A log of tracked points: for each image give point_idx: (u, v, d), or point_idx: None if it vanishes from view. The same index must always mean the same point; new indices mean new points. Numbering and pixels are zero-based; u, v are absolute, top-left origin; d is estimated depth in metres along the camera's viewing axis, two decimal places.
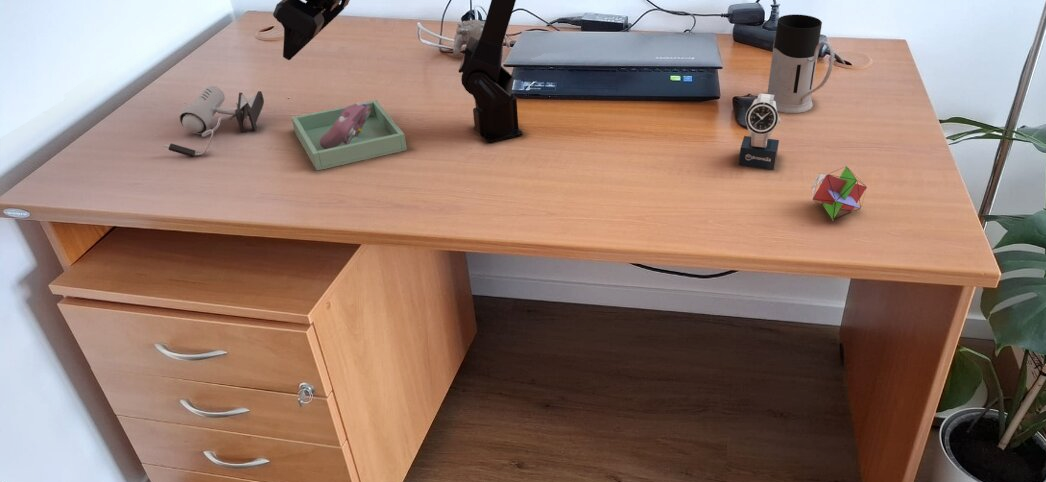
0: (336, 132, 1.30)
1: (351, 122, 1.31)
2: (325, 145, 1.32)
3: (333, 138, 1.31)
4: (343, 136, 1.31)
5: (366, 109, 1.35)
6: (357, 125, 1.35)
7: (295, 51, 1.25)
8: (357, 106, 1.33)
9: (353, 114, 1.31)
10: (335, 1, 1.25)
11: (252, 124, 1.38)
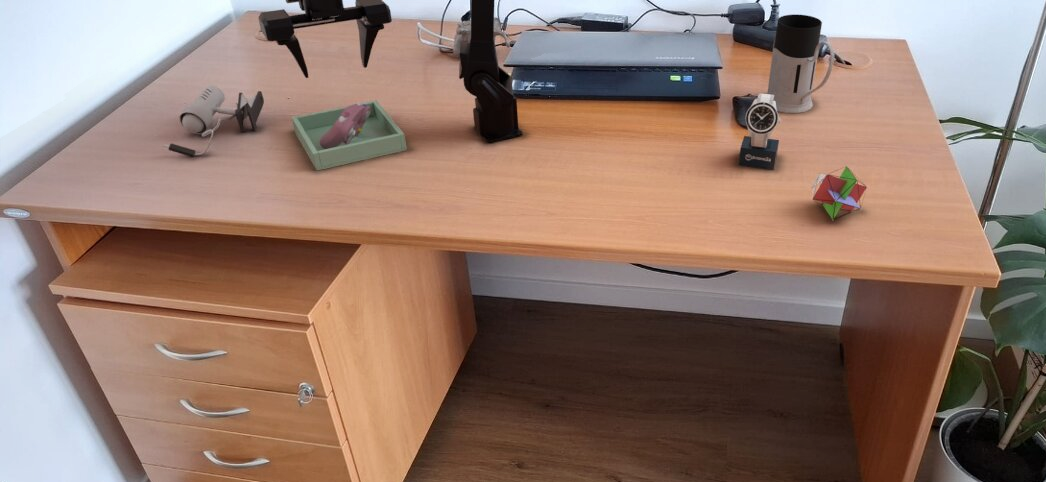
0: (336, 132, 1.30)
1: (351, 122, 1.31)
2: (325, 145, 1.32)
3: (333, 138, 1.31)
4: (343, 136, 1.31)
5: (366, 109, 1.35)
6: (357, 125, 1.35)
7: (299, 66, 1.25)
8: (357, 106, 1.33)
9: (353, 114, 1.31)
10: (322, 9, 1.21)
11: (252, 124, 1.38)
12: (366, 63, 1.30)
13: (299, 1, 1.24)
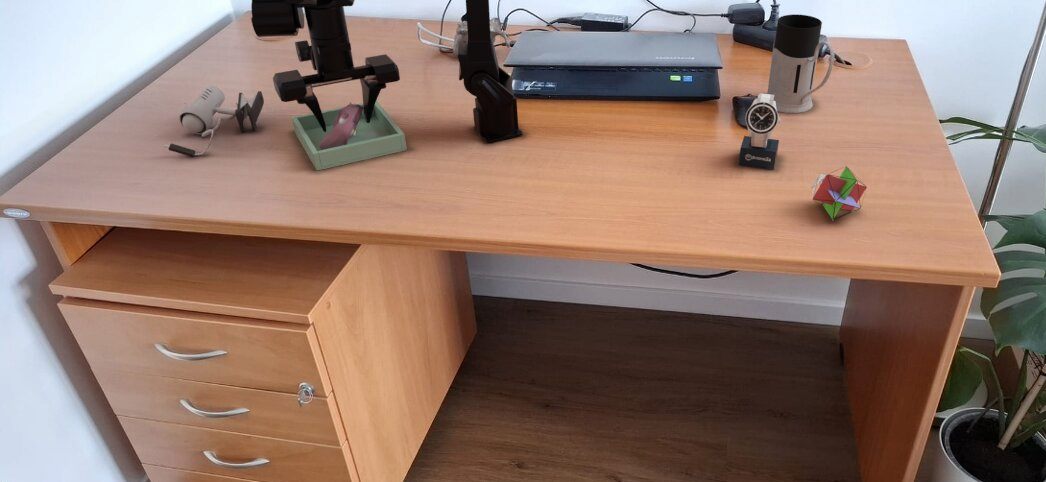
0: (338, 134, 1.30)
1: (352, 123, 1.30)
2: (326, 148, 1.31)
3: (334, 141, 1.30)
4: (345, 137, 1.30)
5: (360, 109, 1.35)
6: (353, 126, 1.35)
7: (318, 121, 1.31)
8: (353, 106, 1.33)
9: (352, 115, 1.31)
10: (333, 70, 1.27)
11: (252, 124, 1.38)
12: (369, 119, 1.36)
13: (311, 61, 1.30)
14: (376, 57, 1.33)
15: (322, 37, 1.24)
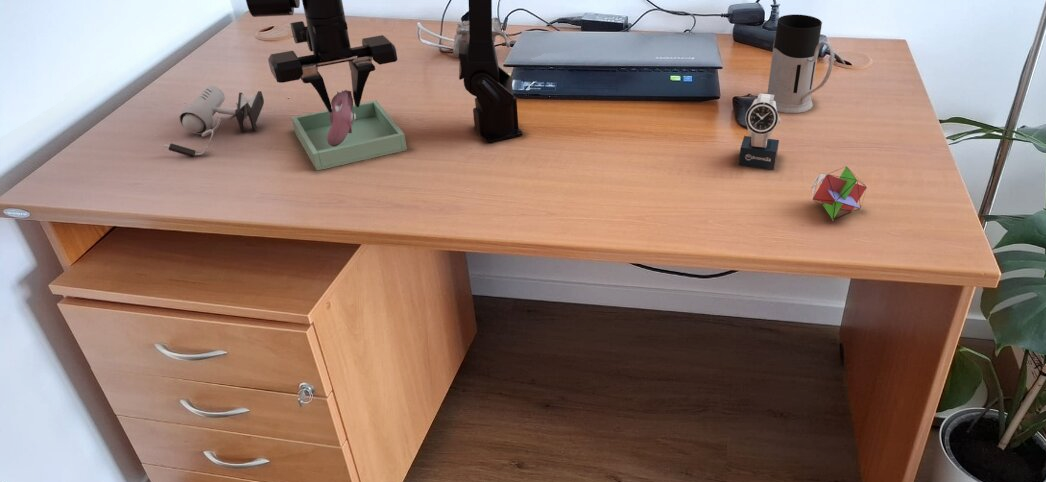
0: (340, 122, 1.28)
1: (348, 106, 1.28)
2: (335, 141, 1.29)
3: (339, 130, 1.28)
4: (348, 122, 1.28)
5: (349, 93, 1.33)
6: None
7: (323, 102, 1.30)
8: (341, 93, 1.31)
9: (345, 99, 1.29)
10: (330, 51, 1.25)
11: (252, 124, 1.38)
12: (358, 103, 1.33)
13: (307, 42, 1.28)
14: (373, 38, 1.31)
15: (318, 16, 1.22)
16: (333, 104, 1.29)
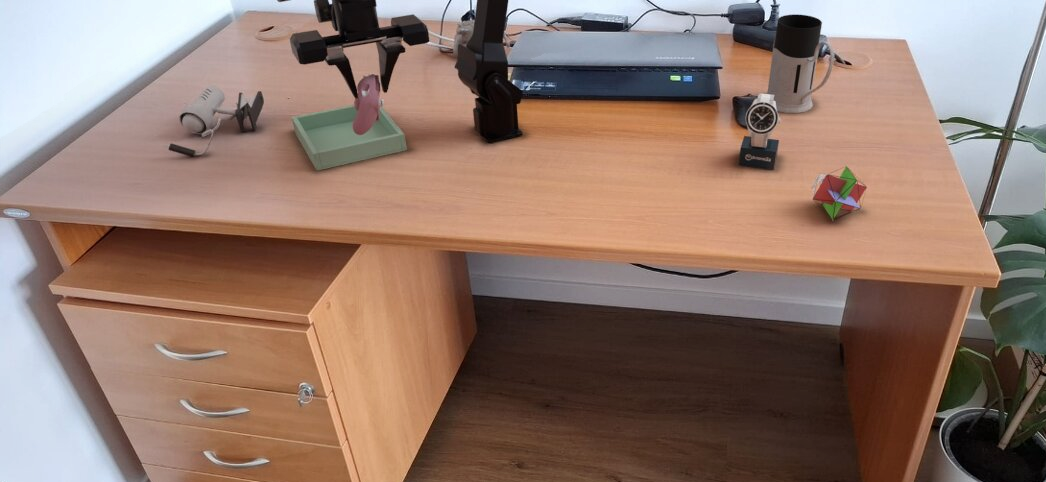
0: (367, 108, 1.17)
1: (375, 91, 1.18)
2: (361, 129, 1.18)
3: (366, 117, 1.18)
4: (375, 108, 1.17)
5: (377, 77, 1.22)
6: None
7: (349, 86, 1.19)
8: (368, 76, 1.20)
9: (372, 83, 1.18)
10: (357, 30, 1.14)
11: (252, 124, 1.38)
12: (386, 88, 1.22)
13: (332, 21, 1.17)
14: (403, 17, 1.20)
15: None
16: (359, 89, 1.18)
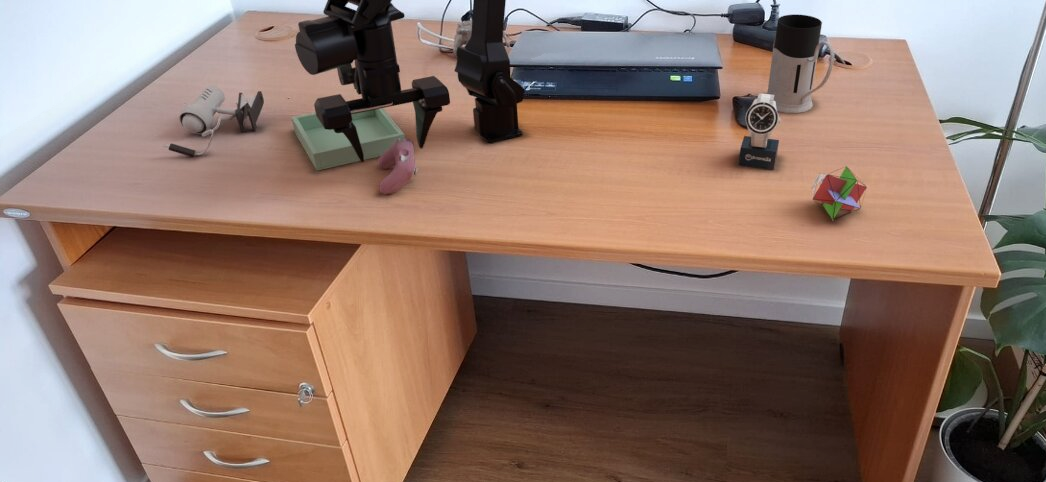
0: (401, 173, 1.20)
1: (413, 159, 1.21)
2: (388, 189, 1.21)
3: (398, 180, 1.21)
4: (409, 175, 1.21)
5: None
6: None
7: (355, 151, 1.21)
8: (407, 142, 1.24)
9: (411, 151, 1.22)
10: (380, 95, 1.16)
11: (252, 124, 1.38)
12: (422, 144, 1.26)
13: (355, 84, 1.20)
14: (424, 79, 1.23)
15: (382, 58, 1.14)
16: (397, 152, 1.22)
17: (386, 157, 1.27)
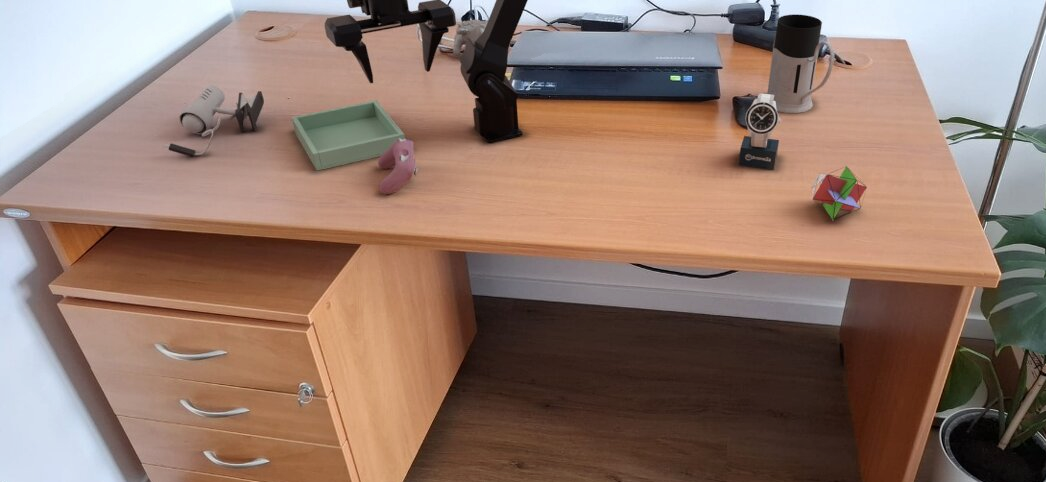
0: (401, 173, 1.20)
1: (413, 159, 1.21)
2: (388, 189, 1.21)
3: (398, 180, 1.21)
4: (409, 175, 1.21)
5: None
6: None
7: (365, 71, 1.24)
8: (407, 142, 1.24)
9: (411, 151, 1.22)
10: (389, 13, 1.20)
11: (252, 124, 1.38)
12: (429, 67, 1.29)
13: (364, 6, 1.23)
14: (430, 2, 1.26)
15: None
16: (397, 152, 1.22)
17: (386, 157, 1.27)
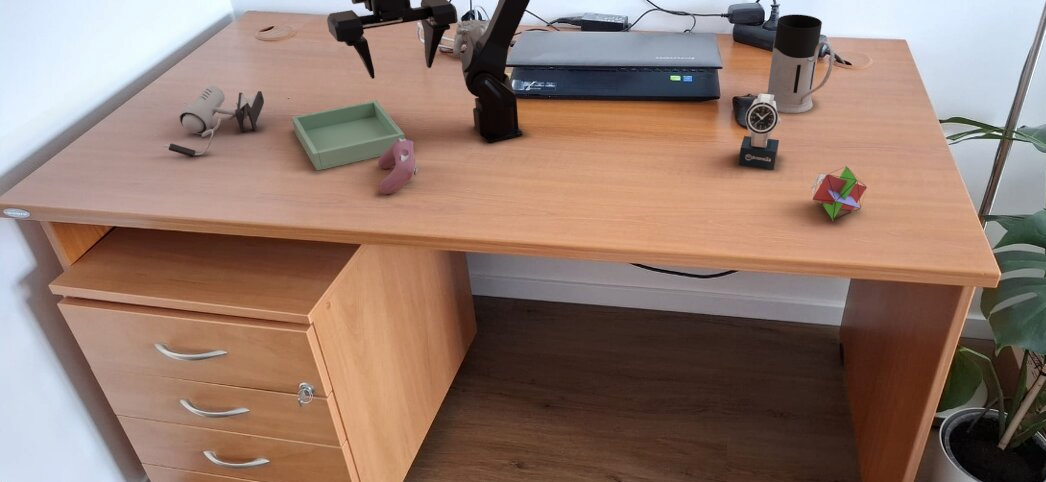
0: (401, 173, 1.20)
1: (413, 159, 1.21)
2: (388, 189, 1.21)
3: (398, 180, 1.21)
4: (409, 175, 1.21)
5: None
6: None
7: (366, 67, 1.25)
8: (407, 142, 1.24)
9: (411, 151, 1.22)
10: (391, 10, 1.21)
11: (252, 124, 1.38)
12: (431, 63, 1.30)
13: (366, 2, 1.24)
14: None
15: None
16: (397, 152, 1.22)
17: (386, 157, 1.27)
